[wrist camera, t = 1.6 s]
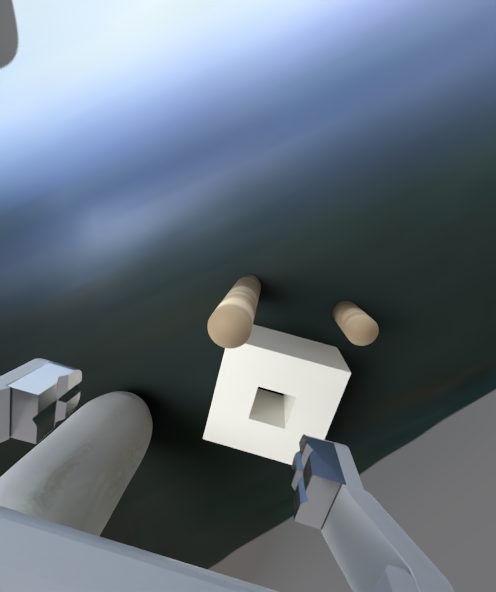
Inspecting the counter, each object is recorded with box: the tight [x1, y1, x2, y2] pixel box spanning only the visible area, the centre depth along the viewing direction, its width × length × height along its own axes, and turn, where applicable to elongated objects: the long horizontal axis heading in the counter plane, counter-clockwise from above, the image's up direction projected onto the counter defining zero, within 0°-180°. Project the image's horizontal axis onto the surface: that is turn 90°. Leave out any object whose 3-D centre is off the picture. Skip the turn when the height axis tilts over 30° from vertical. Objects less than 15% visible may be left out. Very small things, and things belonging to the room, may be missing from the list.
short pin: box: [333, 301, 379, 346], centre depth 28 cm, size 3×3×6 cm
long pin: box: [208, 275, 261, 349], centre depth 24 cm, size 3×3×14 cm
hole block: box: [203, 324, 351, 465], centre depth 30 cm, size 13×13×6 cm
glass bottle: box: [0, 391, 153, 536], centre depth 23 cm, size 10×10×28 cm
